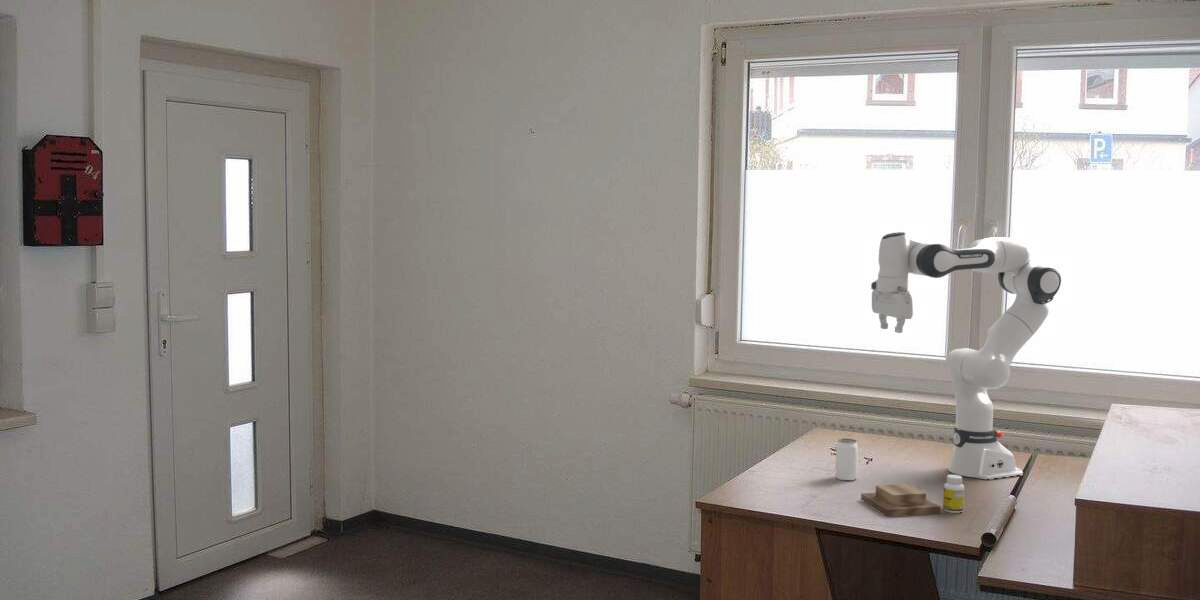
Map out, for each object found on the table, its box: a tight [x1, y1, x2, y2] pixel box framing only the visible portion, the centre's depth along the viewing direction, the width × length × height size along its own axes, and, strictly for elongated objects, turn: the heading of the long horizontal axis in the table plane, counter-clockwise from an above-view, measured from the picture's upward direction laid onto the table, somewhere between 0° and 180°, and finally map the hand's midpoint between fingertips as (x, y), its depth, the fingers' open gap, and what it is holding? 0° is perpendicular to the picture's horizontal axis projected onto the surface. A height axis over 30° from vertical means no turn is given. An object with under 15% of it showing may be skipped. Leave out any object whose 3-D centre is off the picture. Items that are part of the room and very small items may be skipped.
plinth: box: [860, 483, 942, 517], centre depth 293 cm, size 16×16×5 cm
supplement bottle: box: [942, 474, 965, 514], centre depth 290 cm, size 5×5×10 cm
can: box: [835, 438, 859, 481], centre depth 323 cm, size 6×6×12 cm
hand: (891, 330), depth 319 cm, fingers open, 8 cm apart
